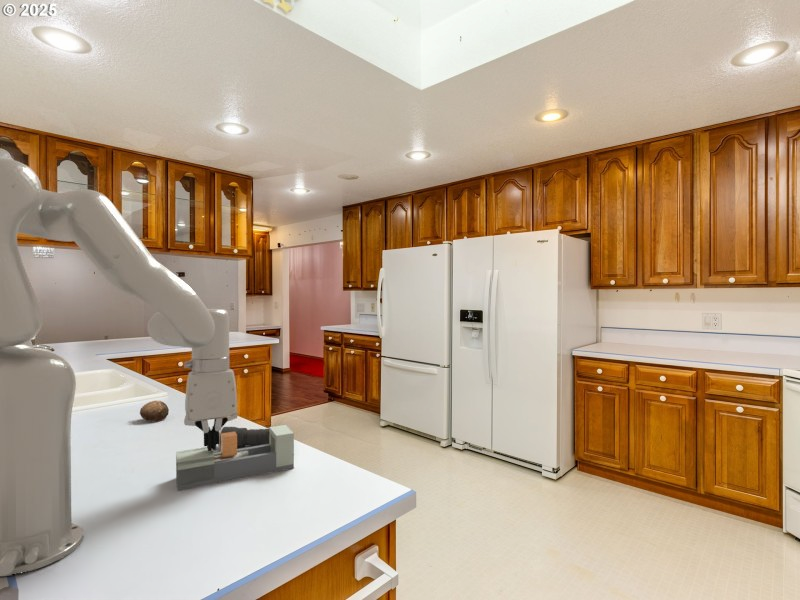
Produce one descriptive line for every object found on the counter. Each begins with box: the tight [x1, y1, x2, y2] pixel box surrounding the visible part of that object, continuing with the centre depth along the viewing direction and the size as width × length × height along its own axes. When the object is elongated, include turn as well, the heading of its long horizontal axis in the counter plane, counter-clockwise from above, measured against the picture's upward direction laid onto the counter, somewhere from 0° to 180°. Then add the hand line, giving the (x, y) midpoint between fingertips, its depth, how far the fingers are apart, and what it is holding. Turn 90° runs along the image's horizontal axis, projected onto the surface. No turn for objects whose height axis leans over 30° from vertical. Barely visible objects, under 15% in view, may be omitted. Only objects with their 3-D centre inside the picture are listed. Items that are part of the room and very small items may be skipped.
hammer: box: [214, 431, 249, 462], centre depth 96 cm, size 14×3×8 cm, turn 119°
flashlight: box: [217, 426, 269, 449], centre depth 114 cm, size 15×5×5 cm, turn 92°
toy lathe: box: [175, 424, 295, 492], centre depth 98 cm, size 24×7×8 cm, turn 119°
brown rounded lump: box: [139, 400, 170, 423], centre depth 137 cm, size 8×8×6 cm
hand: (211, 448), depth 95 cm, fingers closed
